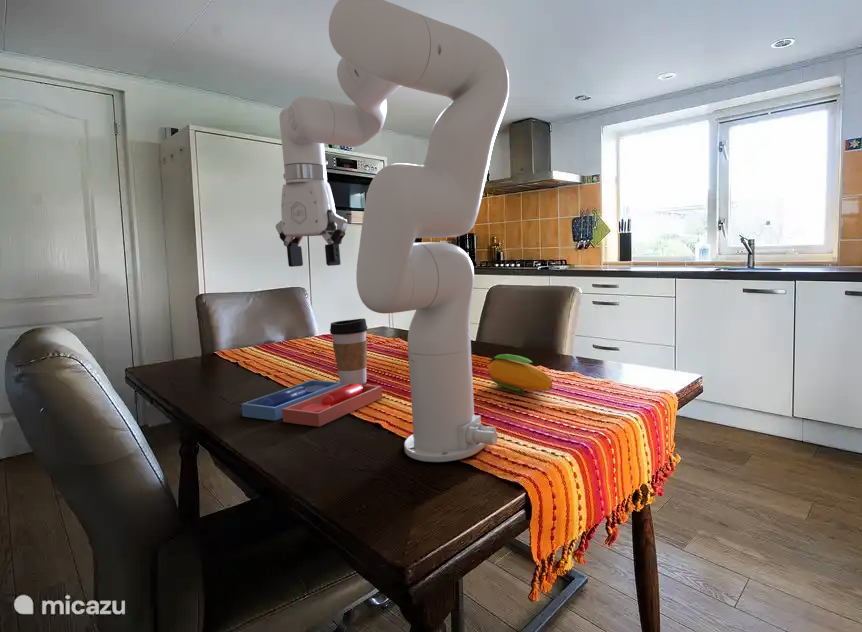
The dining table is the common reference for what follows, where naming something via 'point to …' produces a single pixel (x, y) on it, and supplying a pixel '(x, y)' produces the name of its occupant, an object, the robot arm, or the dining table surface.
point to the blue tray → (275, 413)
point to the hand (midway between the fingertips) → (314, 265)
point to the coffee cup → (350, 350)
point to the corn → (518, 374)
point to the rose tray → (329, 414)
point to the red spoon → (335, 398)
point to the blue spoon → (290, 395)
